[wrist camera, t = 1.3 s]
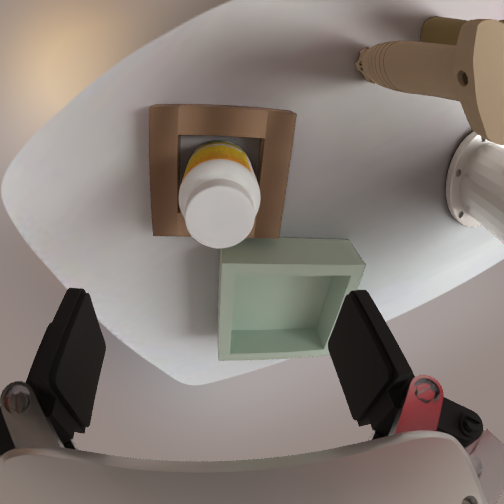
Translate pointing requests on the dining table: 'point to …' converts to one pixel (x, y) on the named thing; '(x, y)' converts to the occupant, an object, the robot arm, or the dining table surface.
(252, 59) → the dining table surface
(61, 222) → the dining table surface
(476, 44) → the handle
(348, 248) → the bin
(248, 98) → the dining table surface
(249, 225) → the supplement bottle
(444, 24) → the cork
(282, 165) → the holder
